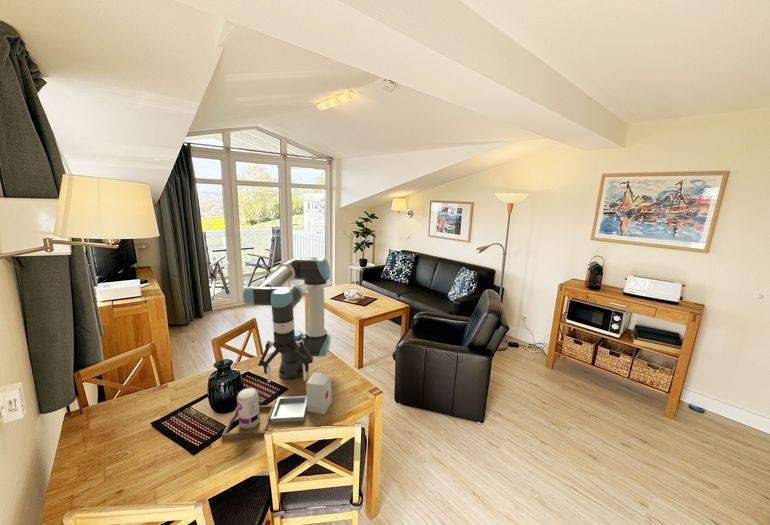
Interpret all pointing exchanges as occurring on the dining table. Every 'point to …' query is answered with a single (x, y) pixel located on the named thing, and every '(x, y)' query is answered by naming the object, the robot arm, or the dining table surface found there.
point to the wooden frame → (247, 434)
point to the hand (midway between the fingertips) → (287, 379)
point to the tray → (289, 409)
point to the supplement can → (248, 408)
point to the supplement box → (318, 393)
